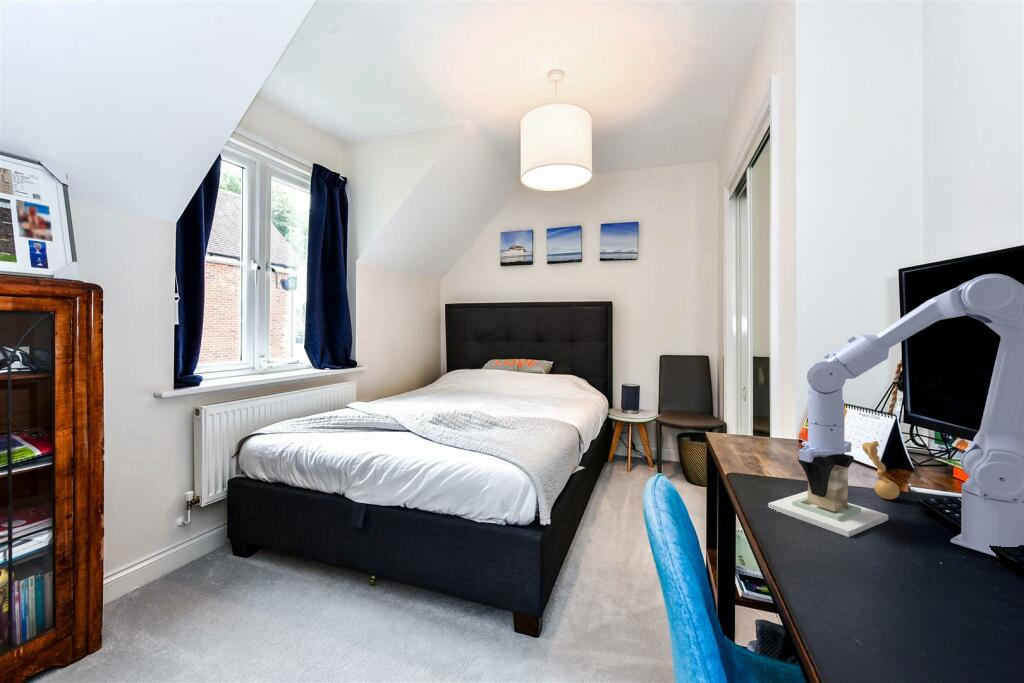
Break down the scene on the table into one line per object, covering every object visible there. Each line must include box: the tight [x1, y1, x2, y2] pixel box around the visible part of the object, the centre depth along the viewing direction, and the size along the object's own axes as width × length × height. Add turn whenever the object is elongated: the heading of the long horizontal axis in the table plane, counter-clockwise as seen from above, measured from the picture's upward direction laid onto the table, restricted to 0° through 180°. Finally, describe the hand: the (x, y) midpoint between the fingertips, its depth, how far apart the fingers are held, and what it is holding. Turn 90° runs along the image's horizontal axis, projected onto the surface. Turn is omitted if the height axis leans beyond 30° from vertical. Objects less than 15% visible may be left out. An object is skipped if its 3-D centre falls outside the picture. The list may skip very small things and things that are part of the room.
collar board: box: [767, 490, 889, 538], centre depth 83 cm, size 14×14×2 cm
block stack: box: [807, 465, 849, 511], centre depth 82 cm, size 5×5×8 cm
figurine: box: [861, 440, 900, 500], centre depth 90 cm, size 8×6×12 cm
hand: (825, 492), depth 83 cm, fingers closed on block stack, 5 cm apart
